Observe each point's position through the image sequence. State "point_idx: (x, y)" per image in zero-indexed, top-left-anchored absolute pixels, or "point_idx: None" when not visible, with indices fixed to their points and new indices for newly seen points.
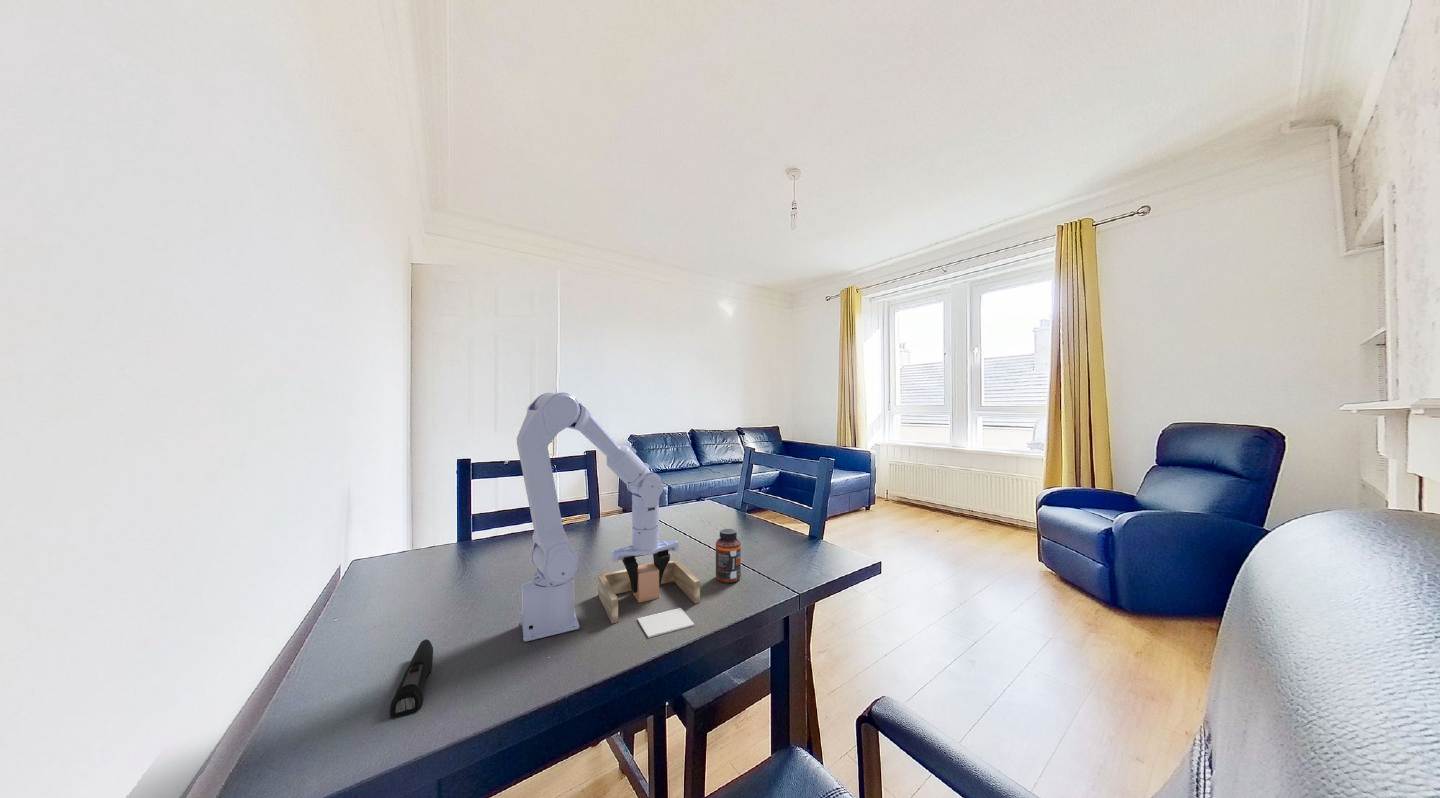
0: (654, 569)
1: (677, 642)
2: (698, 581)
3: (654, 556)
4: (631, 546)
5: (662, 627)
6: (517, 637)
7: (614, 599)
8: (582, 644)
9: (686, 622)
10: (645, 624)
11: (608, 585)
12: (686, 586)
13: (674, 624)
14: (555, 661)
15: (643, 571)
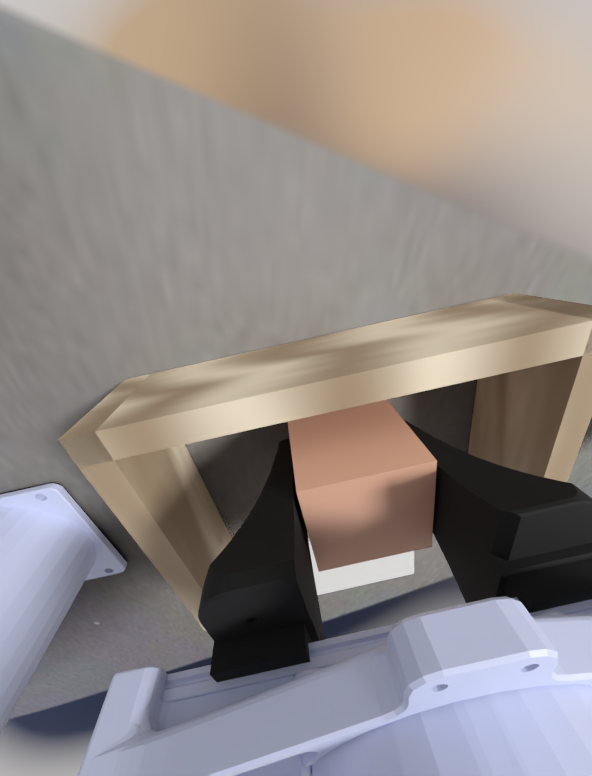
0: (412, 540)
1: (358, 603)
2: None
3: (477, 526)
4: (306, 729)
5: (342, 577)
6: None
7: None
8: (159, 600)
9: (400, 568)
10: None
11: (168, 554)
12: None
13: (372, 571)
14: (117, 630)
15: (349, 552)
